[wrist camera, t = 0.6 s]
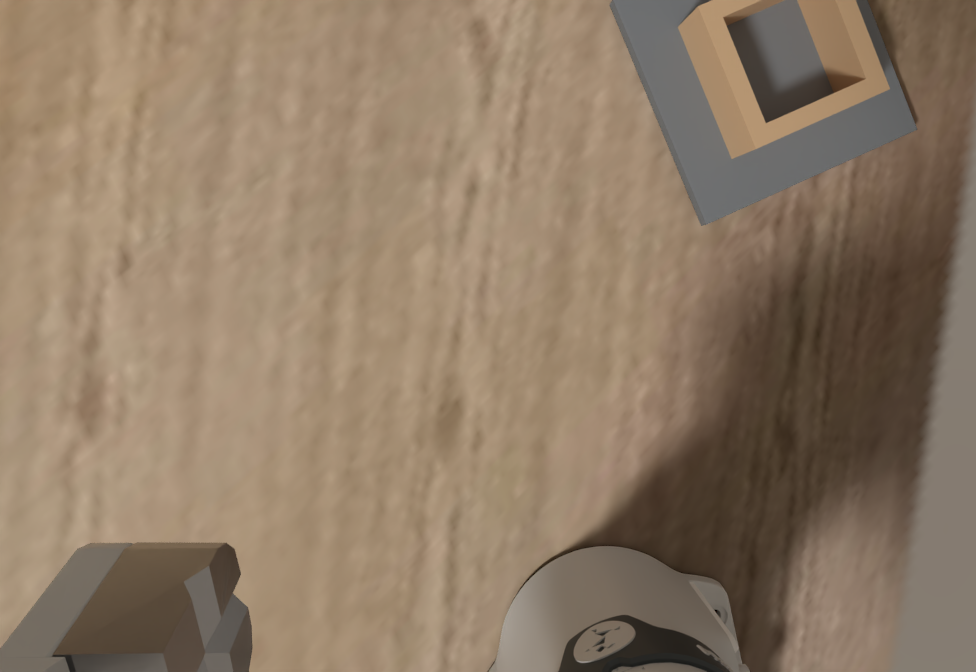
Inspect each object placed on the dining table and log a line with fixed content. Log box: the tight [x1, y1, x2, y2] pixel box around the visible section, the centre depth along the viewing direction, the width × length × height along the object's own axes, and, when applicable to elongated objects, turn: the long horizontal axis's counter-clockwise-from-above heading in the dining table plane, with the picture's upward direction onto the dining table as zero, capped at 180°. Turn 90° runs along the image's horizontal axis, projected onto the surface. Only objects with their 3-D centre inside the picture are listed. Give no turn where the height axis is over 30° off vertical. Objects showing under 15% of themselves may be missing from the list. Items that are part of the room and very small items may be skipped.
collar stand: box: [610, 0, 917, 226], centre depth 53 cm, size 16×16×5 cm
